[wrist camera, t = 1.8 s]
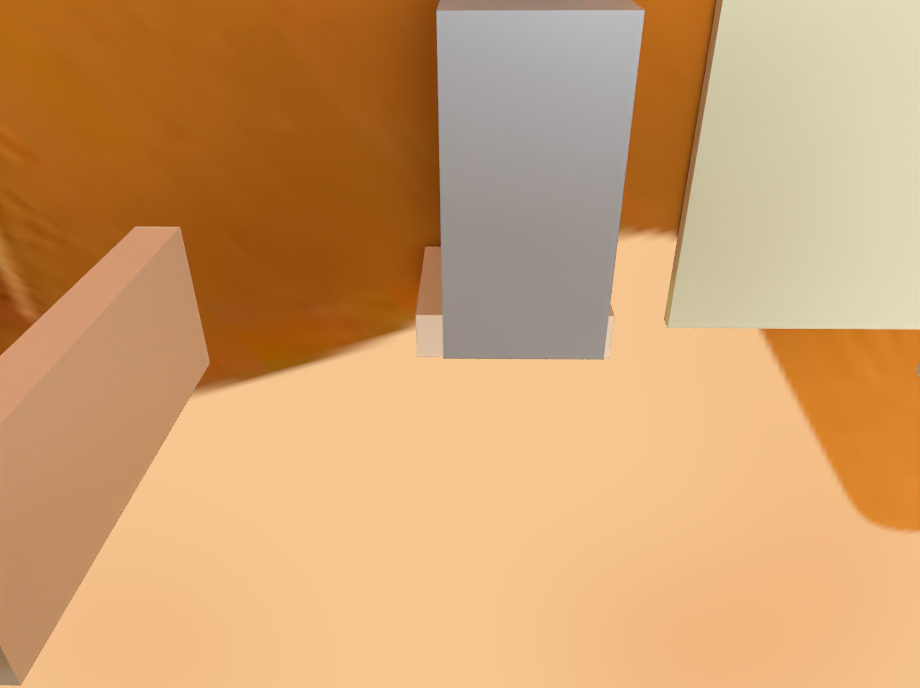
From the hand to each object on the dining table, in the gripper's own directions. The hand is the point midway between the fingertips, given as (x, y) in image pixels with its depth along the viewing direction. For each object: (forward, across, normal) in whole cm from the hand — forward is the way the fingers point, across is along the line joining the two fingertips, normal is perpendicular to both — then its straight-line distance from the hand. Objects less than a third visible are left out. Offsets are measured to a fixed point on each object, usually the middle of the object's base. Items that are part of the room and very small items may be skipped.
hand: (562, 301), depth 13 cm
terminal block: (+13, 0, 0) cm, 13 cm away
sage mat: (+13, +12, 0) cm, 18 cm away
